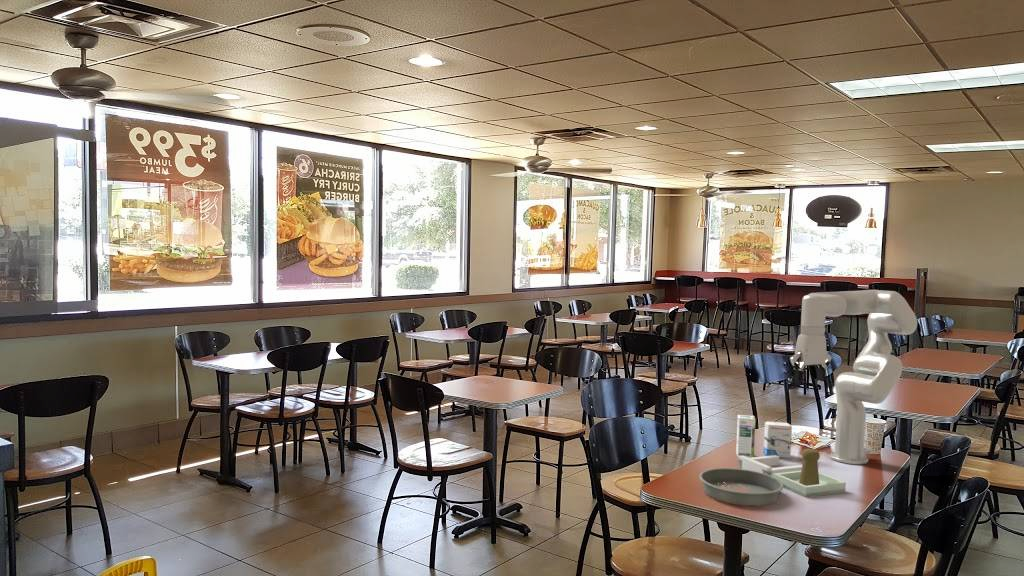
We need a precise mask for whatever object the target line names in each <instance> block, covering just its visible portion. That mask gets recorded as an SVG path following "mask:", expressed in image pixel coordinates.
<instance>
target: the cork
mask: <svg viewBox="0 0 1024 576" xmlns="http://www.w3.org/2000/svg"><path fill="white" fill-rule="evenodd" d="M801 456H802V459H803V460H802V461H803V462H802V464H801V465H802V470H801V475H800V480H799V483H801V484H803V485H805V486H809V485H817V484H819V473H818V472H819V464H818V463H819V462H818V461H819V460H820V452H819V450H816V449H814V448H805V449H803V450H802V452H801Z"/></svg>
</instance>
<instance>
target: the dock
mask: <svg viewBox="0 0 1024 576" xmlns="http://www.w3.org/2000/svg"><path fill="white" fill-rule="evenodd" d="M737 459H738V460H737V469H745V470H751V471H756V472H760V473H764V474H767V475H770V476H772V477H773V474H775V473H783V472H792V471H801V470H802V465H803V464H798V465H797V464H795V465H787V466H779V465H780V457H779V456H776V455H771V456H766V455H763V456H754V457H751V458H748V457H746V456H738V457H737ZM775 466H777V467H775ZM778 466H779V467H778Z"/></svg>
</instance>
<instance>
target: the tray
mask: <svg viewBox="0 0 1024 576" xmlns="http://www.w3.org/2000/svg"><path fill="white" fill-rule="evenodd" d="M818 473H819V484H817V485H809V486H805V485H803V484H801V483H799V480H800V475H801V471H792V472H783V473H775V474H773V477H775V478H777V479H778V480H780V481H781V482H782V483H783V485H784V487H783V489H786V490H788V491H790V492H793V493H795V494H798V495H799V496H802V497H804V498H810V497H817V496H825V495H830V494H831V495H832V494H833V495H834V494H839V493H840V494H841V493H846V485H847V483H846V481H843V480H840V479H838V478H835V477H833V476H830V475H828V474H825V473H822V472H820V471H818Z"/></svg>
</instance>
